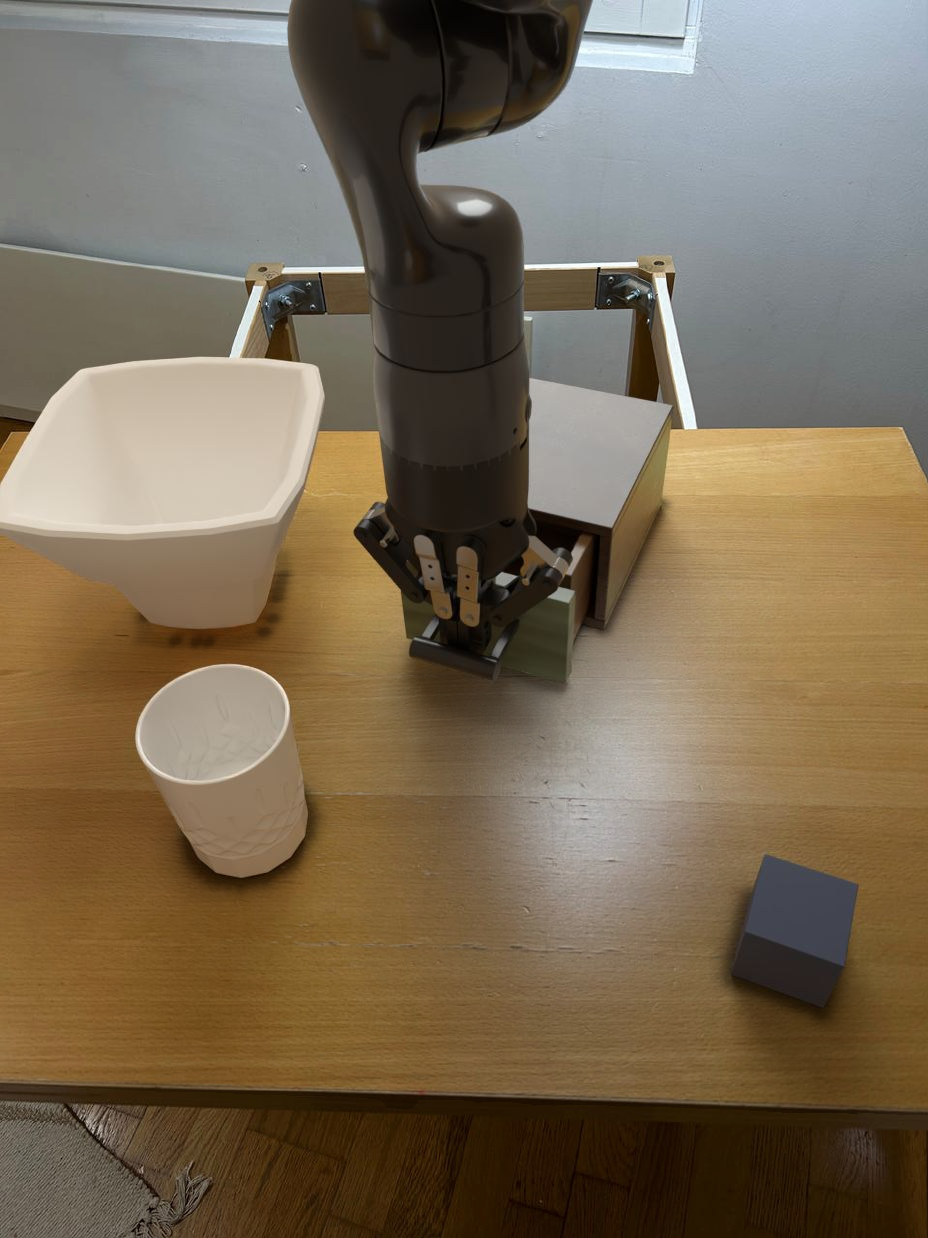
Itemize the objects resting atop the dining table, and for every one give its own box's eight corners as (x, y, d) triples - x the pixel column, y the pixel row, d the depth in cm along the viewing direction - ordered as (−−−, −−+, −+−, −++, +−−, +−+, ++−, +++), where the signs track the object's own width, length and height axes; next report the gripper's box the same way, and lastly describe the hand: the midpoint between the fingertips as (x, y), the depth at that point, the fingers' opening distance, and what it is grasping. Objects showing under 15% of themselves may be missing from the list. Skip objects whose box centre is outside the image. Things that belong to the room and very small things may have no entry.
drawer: (539, 741, 60) (540, 661, 55) (373, 690, 63) (359, 610, 58) (626, 553, 72) (635, 472, 66) (482, 518, 75) (479, 439, 70)
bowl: (357, 509, 78) (334, 352, 68) (326, 696, 64) (291, 534, 54) (127, 512, 79) (70, 357, 69) (47, 697, 65) (-37, 538, 55)
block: (837, 928, 52) (858, 883, 48) (823, 1008, 49) (844, 967, 45) (749, 898, 53) (764, 853, 50) (730, 974, 50) (745, 932, 47)
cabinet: (604, 630, 68) (612, 528, 61) (437, 585, 71) (429, 485, 65) (661, 504, 77) (674, 404, 70) (511, 470, 81) (510, 373, 74)
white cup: (235, 755, 61) (197, 646, 54) (343, 799, 59) (318, 690, 52) (155, 856, 56) (102, 751, 49) (269, 909, 54) (230, 806, 47)
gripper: (299, 429, 48) (344, 664, 61) (552, 489, 44) (546, 728, 57) (369, 354, 53) (398, 586, 65) (605, 401, 49) (588, 639, 61)
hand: (467, 651), depth 61 cm, fingers closed
